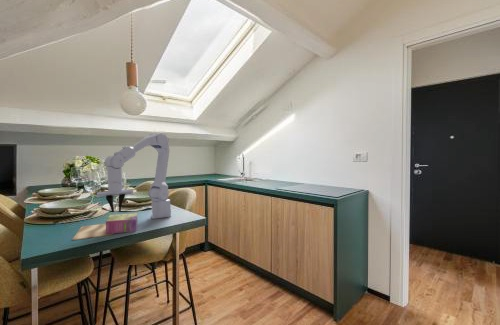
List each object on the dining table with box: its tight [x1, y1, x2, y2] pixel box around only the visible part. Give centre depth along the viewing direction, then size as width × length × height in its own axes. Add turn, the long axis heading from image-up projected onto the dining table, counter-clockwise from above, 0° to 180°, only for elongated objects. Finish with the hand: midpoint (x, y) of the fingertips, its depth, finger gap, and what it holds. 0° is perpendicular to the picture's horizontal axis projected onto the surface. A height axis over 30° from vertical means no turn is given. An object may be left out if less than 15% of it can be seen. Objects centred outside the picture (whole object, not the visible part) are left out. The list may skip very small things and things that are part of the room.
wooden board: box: [71, 223, 113, 241], centre depth 110 cm, size 14×18×1 cm
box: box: [105, 212, 138, 234], centre depth 112 cm, size 10×6×12 cm
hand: (116, 211), depth 113 cm, fingers open, 2 cm apart
